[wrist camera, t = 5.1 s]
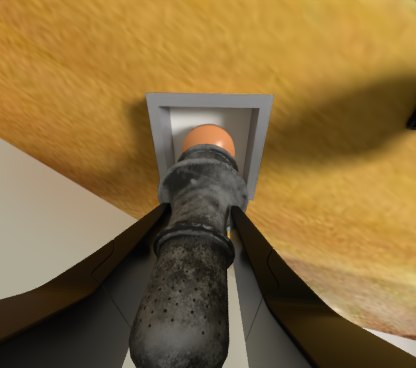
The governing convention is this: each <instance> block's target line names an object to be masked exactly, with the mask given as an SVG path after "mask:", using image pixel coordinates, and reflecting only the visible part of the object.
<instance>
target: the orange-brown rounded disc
mask: <svg viewBox="0 0 416 368" xmlns="http://www.w3.org/2000/svg"><path fill="white" fill-rule="evenodd" d="M198 144H213V145H217V146H219V147H222V148H224V149H225V150H226V151H228V152H229V153H230V154H231V155H232V156H233V158H234V155H235V148H234V144H233V140H232V138H231V136H230V134H229V133H228V132H227V131H226V130H225V129H224V128H222V127H220V126H218V125H215V124H202V125H199V126H197V127H195V128H194V129H192V130H191V131H190V132H189V134H188V135H187V137H186V138H185V140H184V142H183V145H182V153H183V152H185V151H186V150H187V149H188V148H190V147H193V146H195V145H198Z"/></svg>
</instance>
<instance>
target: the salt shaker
mask: <svg viewBox="0 0 416 368" xmlns="http://www.w3.org/2000/svg"><path fill="white" fill-rule="evenodd" d="M158 200H159V203H160V204H162V203H163V202H169V203H171V208H172V216H171V218H170V221H169V224H168V226H167V227H166V228H164V229H163V230H161V231H160V232H159V233H158V234H157V235H156V237H155V240H154V243H153V251H154V253H155V255H156V257H157V260H156V263H155V265H154V268H153V271H152V273H151V276H150V279H149V282H148V284H147V287H146V290H145V292H144V295H143V298H142V300H141V303H140V306H139V308H138V311H137V314H136V316H135V319H134V322H133V324H132V327H131V332H130V337H129V348H130V356H131V359H132V361H133V363H134V364H135V366H136V368H222V366H223V364H224V362H225V360H226V358H227V356H228V347H229V320H228V319H229V318H228V287H227V269H228V268H229V267H230V266H231V264H232V263H233V261H234V259H235V247H234V245H233V243H232V241H231V240H230V239H229V238H228V237H227V228H228V227H230V210H231V206H232V205H236V206H239V207H240V208H241V210H242V211H243V212H244V213H245V211H246V209H247V206H248V203H249V192H248V189H247V186H246V183H245V181H244V180H243V178H242V177H241V175H240V174H239V170H238V166H237V163H236V161H235V159H234V158H233V156H232V155H231V154H230V153H229V152H228V151H226V150H225V149H224V148H222V147H219V146H217V145H213V144H198V145H195V146H193V147H190V148H188V149H187V150H186V151H185V152H183V153H182V155H181V156H180V157H179V159H178V161H177V163H175V164H174V165H173V166H171V167H170V168H169V169H167V171H166V172H165V173H164V175H163V176H162V178H161V179H160V182H159V186H158Z"/></svg>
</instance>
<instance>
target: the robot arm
mask: <svg viewBox="0 0 416 368" xmlns="http://www.w3.org/2000/svg"><path fill="white" fill-rule="evenodd" d="M414 123H415V124H414ZM413 124H414V125H413ZM406 128H407V129H412V130H416V111H415V112H414V114H413V115H412V117H411V119H410V120H409V122H408V123H407V125H406ZM171 216H172V208H171V203H169V202H163V203H162V204H160V205H159V206H158V207H156V208H155V209H154V210H152V211H151V212H149V213H148V214H147V215H145V216H144V217H143V218H141V219H140V220H139V221H137V222H136V223H134V224H133V225H132V226H130V227H129V228H128V229H126V230H125V231H124V232H122V233H121V234H120V235H118V236H117V237H115V238H114V240H111V241H110V242H109V243H107V244H106V245H104V246H103V247H102V248H100V249H99V250H97V251H96V252H94V253H93V254H91V255H90V256H88V257H87V258H85V259H84V260H82V261H81V262H79V263H77V264H76V265H74V266H73V267H71V268H70V269H68V270H66V271H65V272H63V273H62V274H60V275H59V276H57V277H56V278H54V279H52V280H51V281H49V282H47V283H46V284H44V285H42V286H40V287H38V288H36V289H33V290H31V291H28V292H25V293H23V294H19V295H16V296H12V297H8V298H4V299H1V300H0V368H122V365H123V363H124V360H125V357H126V354H127V351H128V348H129V337H130V332H131V327H132V324H133V322H134V319H135V316H136V314H137V311H138V308H139V306H140V303H141V300H142V298H143V295H144V292H145V290H146V287H147V284H148V282H149V279H150V276H151V273H152V271H153V268H154V265H155V263H156V260H157V257H156V255H155V253H154V251H153V243H154V240H155V237H156V235H157V234H158V233H159V232H160V231H161V230H163V229H164V228H166V227H167V226H168V224H169V221H170V218H171ZM230 240H231V241H232V243H233V245H234V247H235V259H234V261H233V264H234V271H235V278H236V283H237V291H238V297H239V304H240V311H241V317H242V324H243V331H244V337H245V342H246V350H247V357H248V364H249V368H416V357H415V356H413V355H411V354H409V353H407V352H405V351H404V350H402V349H400V348H398V347H396V346H394V345H393V344H391V343H389V342H387V341H385V340H383V339H381V338H380V337H378V336H376V335H374V334H372V333H371V332H369V331H367V330H365V329H363V328H361V327H360V326H358V325H356V324H354V323H352V322H350V321H349V320H347V319H345V318H343V317H342V316H340V315H339V314H338V313H336V312H335V311H334V310H332V309H331V308H330V307H329V306H328V305H327V304H326V303H325V302H324V301H323V300H322V299H321V298H320V297H319V296H318V295H317V294H316V293H315V292H314V291H313V290H312V289H311V288H310V287H309V286H308V285H307V284H306V283H305V282H304V281H303V280H302V279H301V278H300V277H299V276H298V275H297V274H296V273H295V272H294V271H293V270H292V269H291V268H290V267H289V266H288V265H287V264H286V262H285V261H284V260H283V259H282V258H281V257H280V256H279V254H278V253H277V252H276V251H275V250H274V249H273V247H272V246H271V245H270V244H269V242H268V241H267V240H266V239H265V237H264V236H263V235H262V234H261V233H260V231H259V230H258V229H257V228H256V227H255V225H254V224H253V223H252V222H251V220H250V219H249V218H248V217H247V216H246V214H245V213H244V212H243V211H242V210H241V208H240V207H239V206H236V205H232V206H231V210H230Z"/></svg>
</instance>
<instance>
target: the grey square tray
mask: <svg viewBox="0 0 416 368" xmlns="http://www.w3.org/2000/svg"><path fill="white" fill-rule="evenodd" d="M145 94H146V100H147V106H148V112H149V118H150V124H151V130H152V136H153V141H154V147H155V153H156V159H157V165H158V171H159V177H160V179H161V178H162V176H163V175H164V173H165V172H166V171H167V169H169V168H170V167H171V166H173V165H174V164H175V163H177V161H178V159H179V157H180V156H181V155H182V145H183V142H184V140H185V138H186V137H187V135H188V134H189V132H190V131H191V130H192V129H194V128H195V127H197V126H199V125H202V124H215V125H218V126H220V127H222V128H224V129H225V130H226V131H227V132H228V133H229V134H230V136H231V138H232V140H233V144H234V148H235V155H234V159H235V161H236V163H237V166H238V170H239V174H240V175H241V177H242V178H243V180H244V181H245V183H246V186H247V189H248V192H249V200H253V199H254V194H255V189H256V184H257V179H258V174H259V169H260V164H261V159H262V154H263V148H264V143H265V138H266V133H267V128H268V123H269V118H270V113H271V108H272V103H273V98H274V95H270V94H263V93H203V92H154V93H145Z"/></svg>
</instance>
